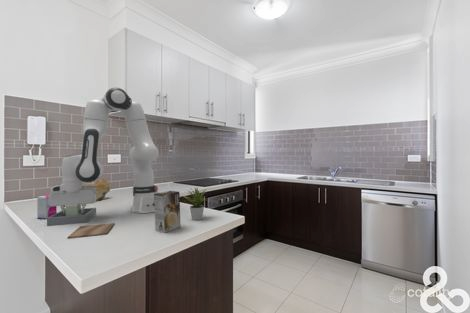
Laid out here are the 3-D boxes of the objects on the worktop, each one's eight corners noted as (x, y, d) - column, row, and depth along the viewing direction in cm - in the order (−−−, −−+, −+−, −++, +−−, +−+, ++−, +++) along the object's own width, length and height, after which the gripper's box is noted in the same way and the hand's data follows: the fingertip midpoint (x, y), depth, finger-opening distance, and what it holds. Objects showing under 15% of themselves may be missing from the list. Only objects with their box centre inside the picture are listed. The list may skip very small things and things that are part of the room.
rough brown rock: (99, 197, 175) (97, 178, 175) (113, 197, 167) (111, 177, 167) (66, 205, 154) (64, 183, 154) (80, 205, 147) (77, 182, 147)
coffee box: (170, 224, 104) (170, 190, 104) (180, 226, 100) (180, 191, 100) (154, 230, 96) (153, 193, 96) (164, 233, 93) (163, 194, 92)
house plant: (199, 212, 124) (199, 183, 124) (217, 217, 115) (217, 185, 115) (178, 218, 113) (177, 186, 113) (196, 224, 104) (196, 189, 104)
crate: (96, 213, 124) (96, 207, 124) (86, 222, 109) (86, 215, 109) (62, 216, 119) (62, 210, 119) (47, 225, 104) (46, 218, 104)
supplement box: (46, 219, 115) (45, 197, 115) (37, 218, 116) (36, 196, 116) (57, 216, 121) (56, 195, 120) (48, 215, 122) (47, 194, 122)
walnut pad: (114, 224, 105) (114, 222, 105) (107, 234, 92) (107, 232, 92) (80, 227, 101) (80, 226, 101) (67, 238, 88) (67, 237, 88)
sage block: (81, 217, 117) (80, 202, 117) (77, 220, 113) (77, 204, 112) (70, 218, 116) (69, 203, 116) (65, 221, 111) (65, 205, 111)
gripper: (97, 184, 120) (98, 210, 120) (52, 186, 114) (53, 213, 114) (94, 186, 114) (94, 213, 114) (46, 188, 108) (46, 216, 108)
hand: (73, 213), depth 114 cm, fingers open, 5 cm apart
